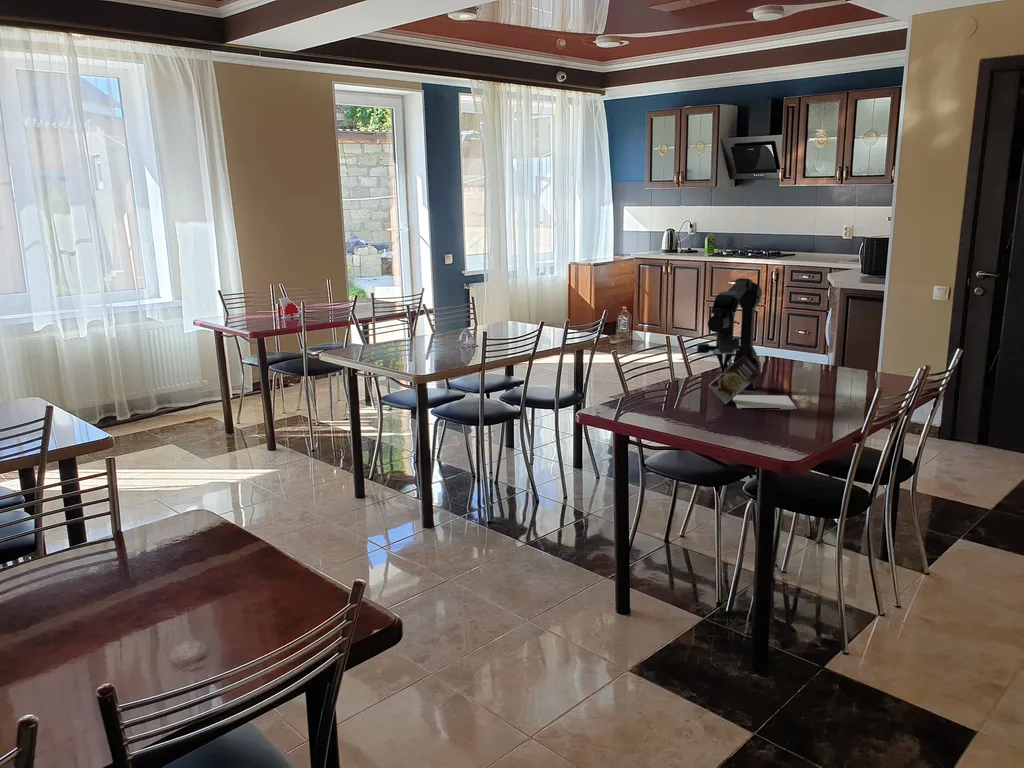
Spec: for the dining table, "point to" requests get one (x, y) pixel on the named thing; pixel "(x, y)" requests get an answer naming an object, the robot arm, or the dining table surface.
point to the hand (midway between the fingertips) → (722, 372)
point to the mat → (763, 401)
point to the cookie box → (735, 379)
